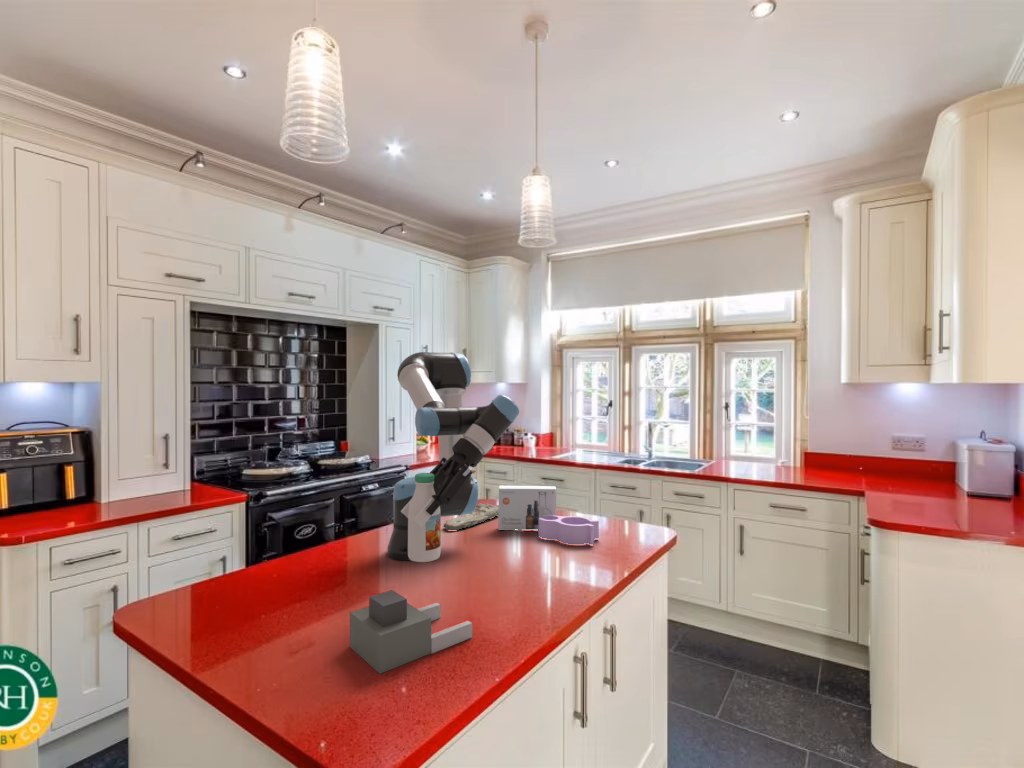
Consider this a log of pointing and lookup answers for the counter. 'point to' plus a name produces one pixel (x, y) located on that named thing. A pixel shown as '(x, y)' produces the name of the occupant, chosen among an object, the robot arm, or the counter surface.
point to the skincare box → (524, 506)
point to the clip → (569, 529)
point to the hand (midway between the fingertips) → (410, 519)
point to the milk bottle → (428, 538)
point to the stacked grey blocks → (399, 631)
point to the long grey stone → (472, 517)
